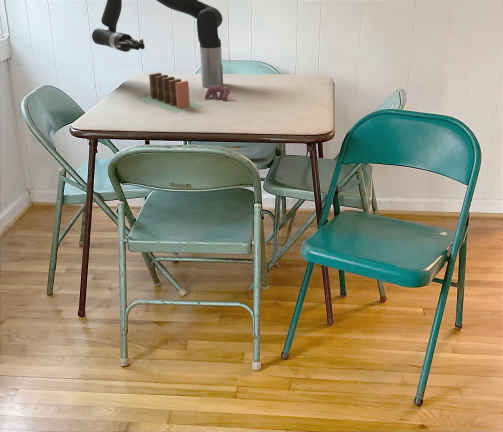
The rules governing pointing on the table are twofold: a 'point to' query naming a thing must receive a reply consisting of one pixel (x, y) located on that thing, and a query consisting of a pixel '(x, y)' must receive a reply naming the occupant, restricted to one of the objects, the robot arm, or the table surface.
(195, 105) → the felt mat
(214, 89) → the video game controller
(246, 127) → the table surface
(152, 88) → the domino
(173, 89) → the domino
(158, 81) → the domino
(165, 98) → the domino
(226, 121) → the table surface
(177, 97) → the domino
